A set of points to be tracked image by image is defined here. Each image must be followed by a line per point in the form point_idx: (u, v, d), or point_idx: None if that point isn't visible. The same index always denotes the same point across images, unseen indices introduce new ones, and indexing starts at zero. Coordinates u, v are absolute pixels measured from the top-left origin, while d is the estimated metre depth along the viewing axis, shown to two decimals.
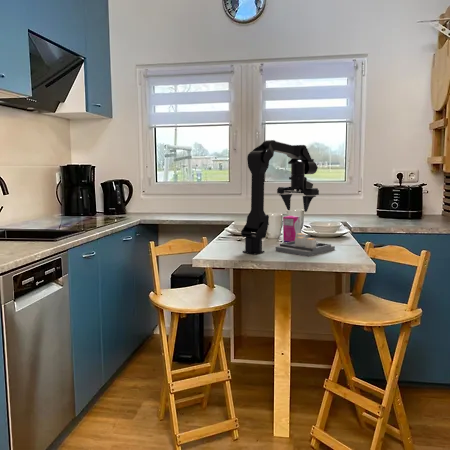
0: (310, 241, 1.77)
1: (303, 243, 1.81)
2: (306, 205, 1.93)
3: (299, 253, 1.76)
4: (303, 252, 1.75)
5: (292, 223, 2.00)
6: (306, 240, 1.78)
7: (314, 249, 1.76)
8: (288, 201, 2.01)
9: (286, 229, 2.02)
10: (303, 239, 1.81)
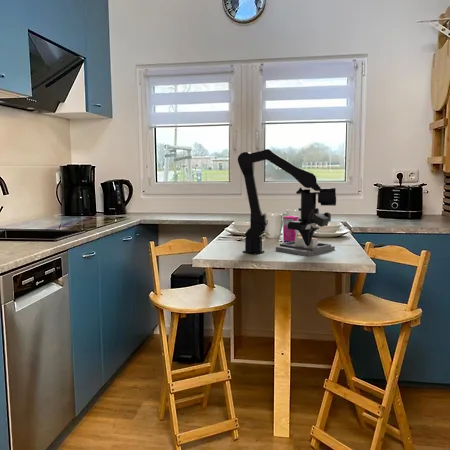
0: (311, 241, 1.77)
1: (303, 243, 1.81)
2: (304, 238, 1.77)
3: (299, 253, 1.76)
4: (303, 252, 1.75)
5: None
6: None
7: (314, 249, 1.76)
8: None
9: (286, 229, 2.02)
10: None
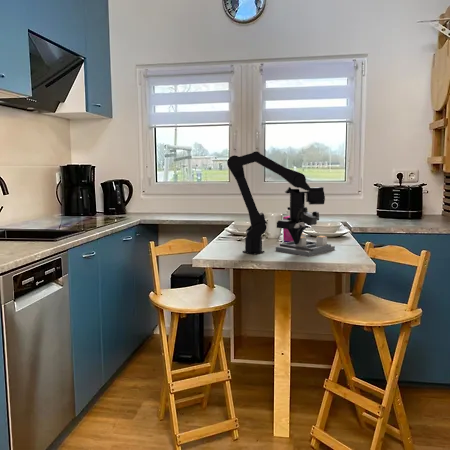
0: (321, 239, 1.82)
1: (304, 243, 1.82)
2: (293, 237, 1.80)
3: (299, 253, 1.76)
4: (303, 252, 1.75)
5: None
6: (317, 238, 1.83)
7: (314, 249, 1.76)
8: None
9: (286, 229, 2.02)
10: (304, 239, 1.81)
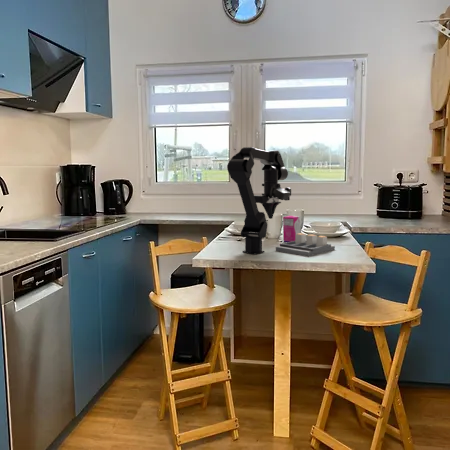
0: (321, 239, 1.82)
1: (314, 241, 1.87)
2: (267, 212, 1.91)
3: (299, 253, 1.76)
4: (303, 252, 1.75)
5: (292, 223, 2.00)
6: (317, 238, 1.83)
7: (314, 249, 1.76)
8: None
9: (286, 229, 2.02)
10: (314, 237, 1.86)
